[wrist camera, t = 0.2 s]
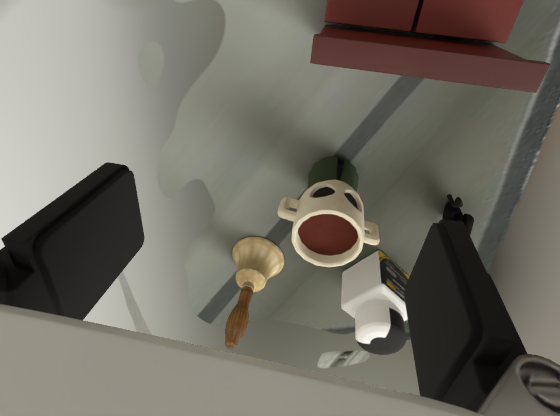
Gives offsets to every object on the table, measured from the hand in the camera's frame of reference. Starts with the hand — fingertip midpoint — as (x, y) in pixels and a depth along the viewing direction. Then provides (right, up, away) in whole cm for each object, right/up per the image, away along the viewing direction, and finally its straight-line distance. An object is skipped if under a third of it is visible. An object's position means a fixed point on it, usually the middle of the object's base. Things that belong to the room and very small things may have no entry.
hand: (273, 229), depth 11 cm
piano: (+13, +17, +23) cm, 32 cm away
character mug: (+7, +5, +33) cm, 34 cm away
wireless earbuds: (+22, +1, +33) cm, 39 cm away
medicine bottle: (+15, -9, +41) cm, 44 cm away
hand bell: (-3, -7, +43) cm, 44 cm away
